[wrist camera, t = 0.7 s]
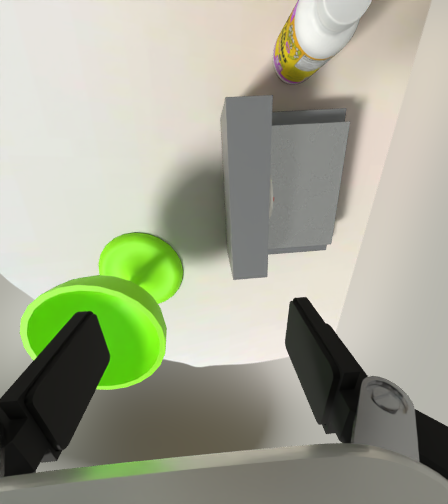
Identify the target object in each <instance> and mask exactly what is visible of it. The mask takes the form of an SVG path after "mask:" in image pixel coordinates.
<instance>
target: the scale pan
mask: <svg viewBox="0 0 448 504" xmlns="http://www.w3.org/2000/svg"><path fill="white" fill-rule="evenodd" d="M349 126H350V122H334V123H315V124H296V125H276V126H272V135H271V169H270V175H271V179H272V185H273V197H274V201H273V208H272V213H271V217H270V219H269V236H268V249H274V248H287V247H300V246H314V245H327V244H331V242H332V236H333V229H334V223H335V216H336V210H337V203H338V197H339V191H340V184H341V178H342V171H343V165H344V158H345V152H346V145H347V139H348V132H349Z"/></svg>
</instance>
